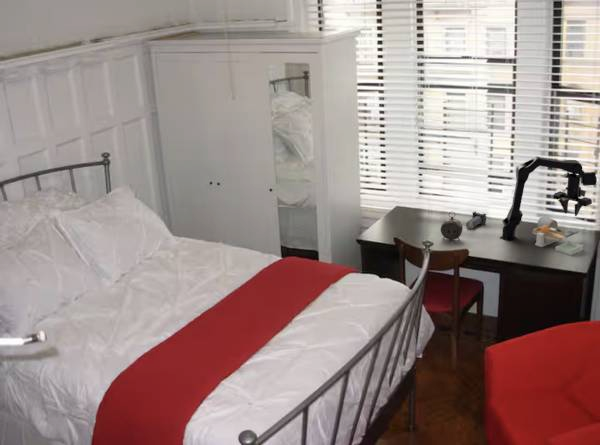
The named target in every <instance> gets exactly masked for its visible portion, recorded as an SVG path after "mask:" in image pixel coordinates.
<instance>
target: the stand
mask: <svg viewBox="0 0 600 445" xmlns="http://www.w3.org/2000/svg"><path fill="white" fill-rule="evenodd" d="M549 229H551V230H555V231H557V229H554V228H549ZM535 241H536V242H535V243H534V246H537V247H541V248H543V247H546V246H548V245H550V244H552V243H555V242H556V241H555V240H552V239H549V238H544V234H543V233H537V238H536V240H535Z"/></svg>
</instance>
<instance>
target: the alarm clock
mask: <svg viewBox="0 0 600 445" xmlns="http://www.w3.org/2000/svg"><path fill="white" fill-rule="evenodd" d="M451 213H452V214H454V216H450V214H451ZM448 216H449V218H445V219H444V220H443V221H442V224H441V225H440V232H441V236H443V238H442V240H444V239H447V240H449V242H450V241H451V242H452V241H453V240H458V241H461V239H460V236H462V233H463V230H464V229H463V224H462V222H461V221H460V220H459V219H457V218H456V217H455V216H456V213H455V211H449V213H448Z"/></svg>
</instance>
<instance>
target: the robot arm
mask: <svg viewBox="0 0 600 445" xmlns="http://www.w3.org/2000/svg"><path fill="white" fill-rule="evenodd" d="M539 167H544V168H545V167H546V168H551V169H557V170H562V171H566V173H564V174H563V176H564V178H565V179H567V184H566V185H567V187H565V190H566V192H565V191H561V190H560V191H558V192H554V193H553V196H552V197H553V199H554V200H557V201H558V202H559V203H560V205H561V206H562V209H563V211H564V213H565V214H568V209H569V201H573V202H576V203H575V204H574V216H575V217H577V216H578V214H579V212H580V210H581V208H583V207H588V206H591V205H592V203H593V200H592V198H589V197H585V196H586V193H587V191H586V190H583V189H582V187H581V186H580V185H581V184H582V186H584V187H585V186H586V187H587V186H596V185H597V173H596V172H595V171H590V172H589V171H588V172H586V171H584V169H583V165H582V164H581V163H580V162H579V161H578V160H577V159H568V160H558V159H553V158H547V157H541V156H535V157H533V158H531V159H528V160H526V161H525V162H523V163H520V164H518V165H517V166H516V168H515V178H516V183H515V188H514V192H513V193H514V194H513V198H512V202H511V203H512V204H511V207H510V209H509V211H508V213H507V216H506V217H505V218H504V219H503V220H502V225H503V227H502V236H500V237H499V238H500V239H502V240H505V241H508V242H511V241H513V240H516V239H518V237H517V236H516V229H517V227H518V225H520V224H521V222H523V221H522V217H523V216H524V214H523V211H522V210H521V206H522V199H523V194H524V188H525V184H526V182H527V181H528V179H529V176H530V175H531V173H533V172H534V171H535V170H536V169H537V168H539Z"/></svg>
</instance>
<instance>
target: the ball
mask: <svg viewBox="0 0 600 445" xmlns="http://www.w3.org/2000/svg"><path fill="white" fill-rule="evenodd" d="M541 231H542V232H543V233H547V232H548V231H549V227H548V226H547V225H543V226H542V227H541Z"/></svg>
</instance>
